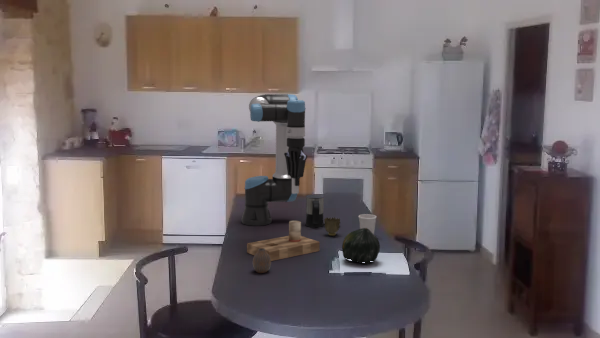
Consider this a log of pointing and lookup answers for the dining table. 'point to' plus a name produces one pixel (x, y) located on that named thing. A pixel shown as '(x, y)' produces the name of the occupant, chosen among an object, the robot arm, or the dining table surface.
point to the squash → (361, 246)
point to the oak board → (284, 247)
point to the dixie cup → (367, 221)
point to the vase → (261, 261)
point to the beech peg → (294, 231)
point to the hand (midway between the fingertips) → (295, 193)
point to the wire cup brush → (332, 225)
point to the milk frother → (314, 210)
